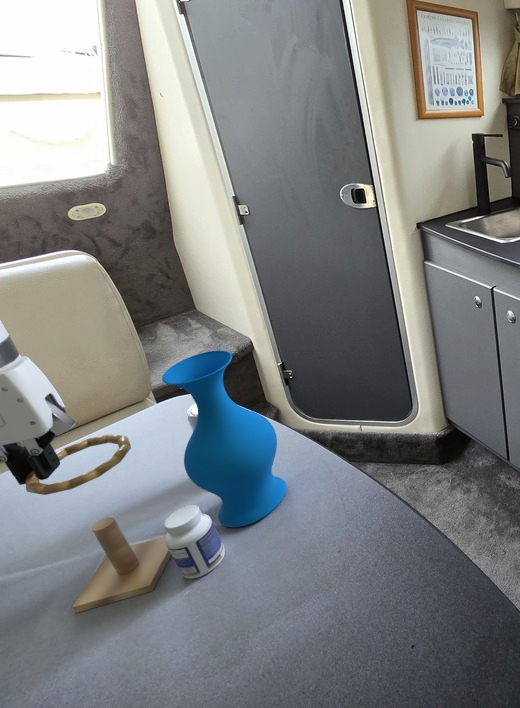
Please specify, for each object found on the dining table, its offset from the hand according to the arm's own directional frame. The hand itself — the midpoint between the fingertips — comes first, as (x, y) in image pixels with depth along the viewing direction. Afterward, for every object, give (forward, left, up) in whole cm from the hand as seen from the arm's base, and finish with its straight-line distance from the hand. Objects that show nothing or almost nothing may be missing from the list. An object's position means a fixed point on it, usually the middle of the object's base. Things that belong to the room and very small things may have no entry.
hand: (40, 473), depth 68 cm
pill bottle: (+15, -5, -19) cm, 25 cm away
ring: (+4, 0, 0) cm, 5 cm away
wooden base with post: (+5, -3, -19) cm, 20 cm away
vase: (+19, +5, -19) cm, 28 cm away
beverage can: (+13, +15, -19) cm, 28 cm away
